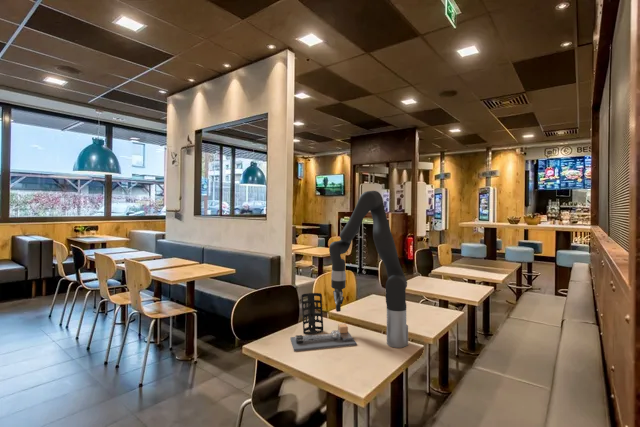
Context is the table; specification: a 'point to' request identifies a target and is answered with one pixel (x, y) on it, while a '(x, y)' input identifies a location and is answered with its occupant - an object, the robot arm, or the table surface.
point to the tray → (320, 344)
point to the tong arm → (312, 336)
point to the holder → (312, 313)
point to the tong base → (335, 336)
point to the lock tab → (342, 328)
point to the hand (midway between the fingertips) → (338, 311)
